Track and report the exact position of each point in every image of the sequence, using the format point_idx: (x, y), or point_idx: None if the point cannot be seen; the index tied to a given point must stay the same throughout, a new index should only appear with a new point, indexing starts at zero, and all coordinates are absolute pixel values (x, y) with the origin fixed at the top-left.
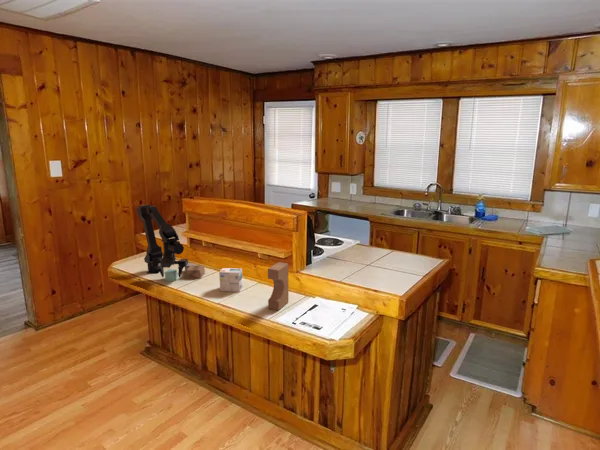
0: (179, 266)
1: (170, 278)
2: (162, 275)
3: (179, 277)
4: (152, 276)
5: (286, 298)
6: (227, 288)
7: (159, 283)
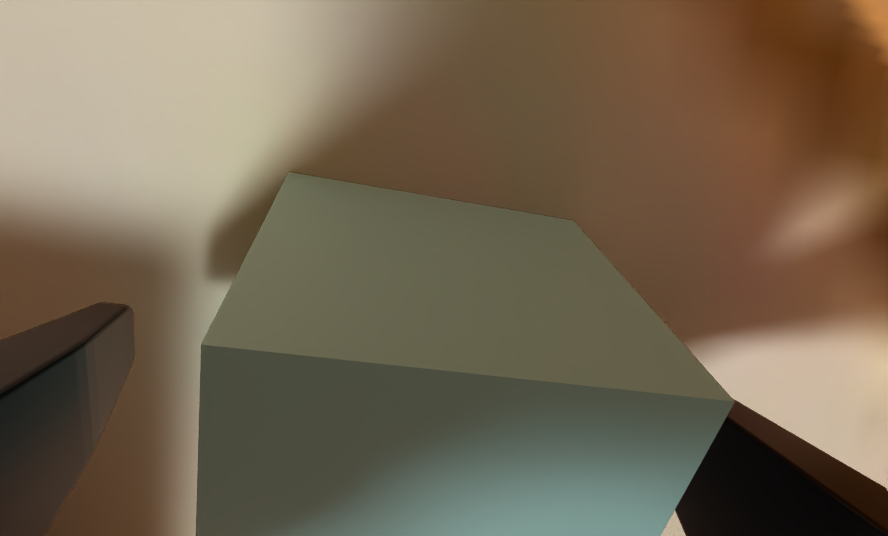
0: None
1: (423, 225)
2: None
3: (110, 303)
4: None
5: None
6: None
7: (761, 27)
